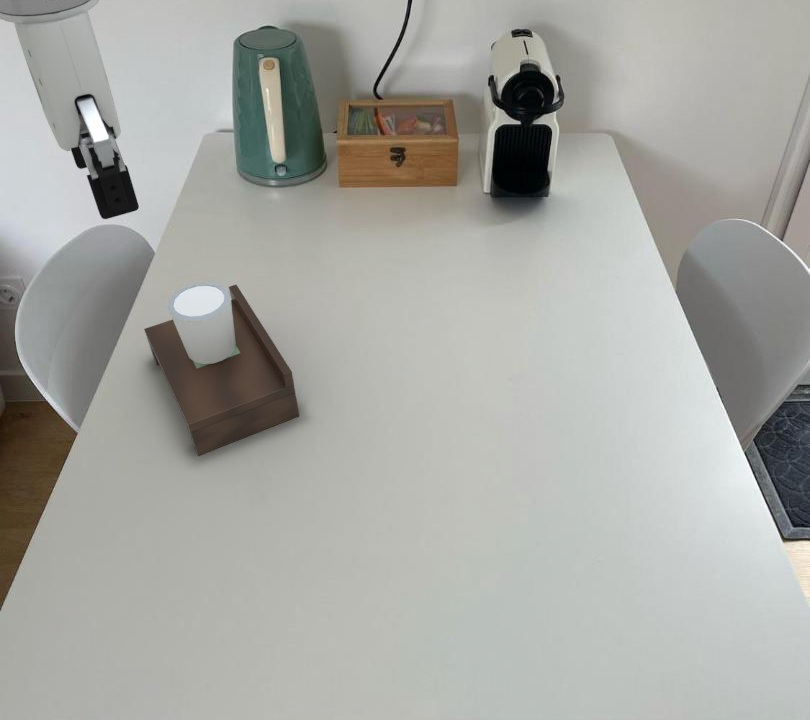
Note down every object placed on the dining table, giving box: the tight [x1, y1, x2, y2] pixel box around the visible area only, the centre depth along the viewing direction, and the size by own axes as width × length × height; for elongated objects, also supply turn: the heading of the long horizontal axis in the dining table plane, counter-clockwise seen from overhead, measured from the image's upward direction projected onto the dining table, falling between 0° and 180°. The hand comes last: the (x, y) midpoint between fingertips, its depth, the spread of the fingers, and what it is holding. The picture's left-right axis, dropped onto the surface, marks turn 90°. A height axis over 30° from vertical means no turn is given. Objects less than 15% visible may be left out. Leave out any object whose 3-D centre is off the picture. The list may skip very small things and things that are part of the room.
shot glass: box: [167, 281, 236, 364], centre depth 91 cm, size 7×7×7 cm
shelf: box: [144, 284, 300, 456], centre depth 94 cm, size 12×18×7 cm, turn 28°
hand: (107, 187), depth 72 cm, fingers open, 9 cm apart
